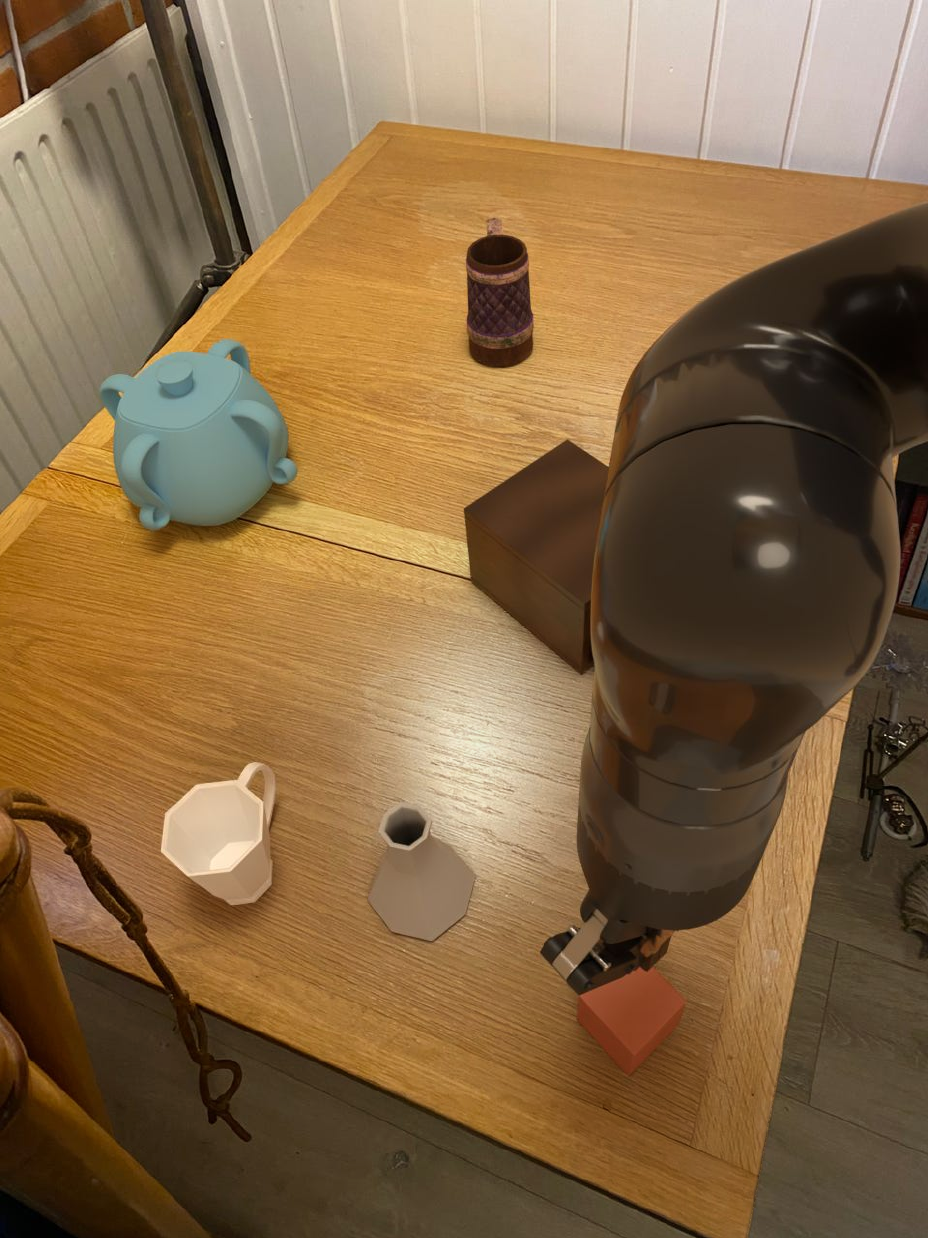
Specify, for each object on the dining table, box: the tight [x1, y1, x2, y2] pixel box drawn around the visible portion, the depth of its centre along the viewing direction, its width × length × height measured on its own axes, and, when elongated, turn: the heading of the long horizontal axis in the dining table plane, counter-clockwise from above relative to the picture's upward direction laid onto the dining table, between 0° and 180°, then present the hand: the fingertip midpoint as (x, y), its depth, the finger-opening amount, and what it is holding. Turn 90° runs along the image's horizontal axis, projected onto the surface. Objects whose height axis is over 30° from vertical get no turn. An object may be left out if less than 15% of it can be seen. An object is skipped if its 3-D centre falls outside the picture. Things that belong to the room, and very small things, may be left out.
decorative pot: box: [98, 338, 298, 531], centre depth 88 cm, size 16×16×14 cm
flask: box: [367, 801, 476, 942], centre depth 63 cm, size 7×7×10 cm
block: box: [576, 966, 688, 1077], centre depth 58 cm, size 4×4×5 cm
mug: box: [465, 217, 535, 367], centre depth 100 cm, size 10×7×12 cm
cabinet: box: [463, 438, 609, 675], centre depth 78 cm, size 14×12×9 cm
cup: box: [160, 761, 277, 906], centre depth 66 cm, size 7×10×8 cm
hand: (641, 949), depth 51 cm, fingers closed
